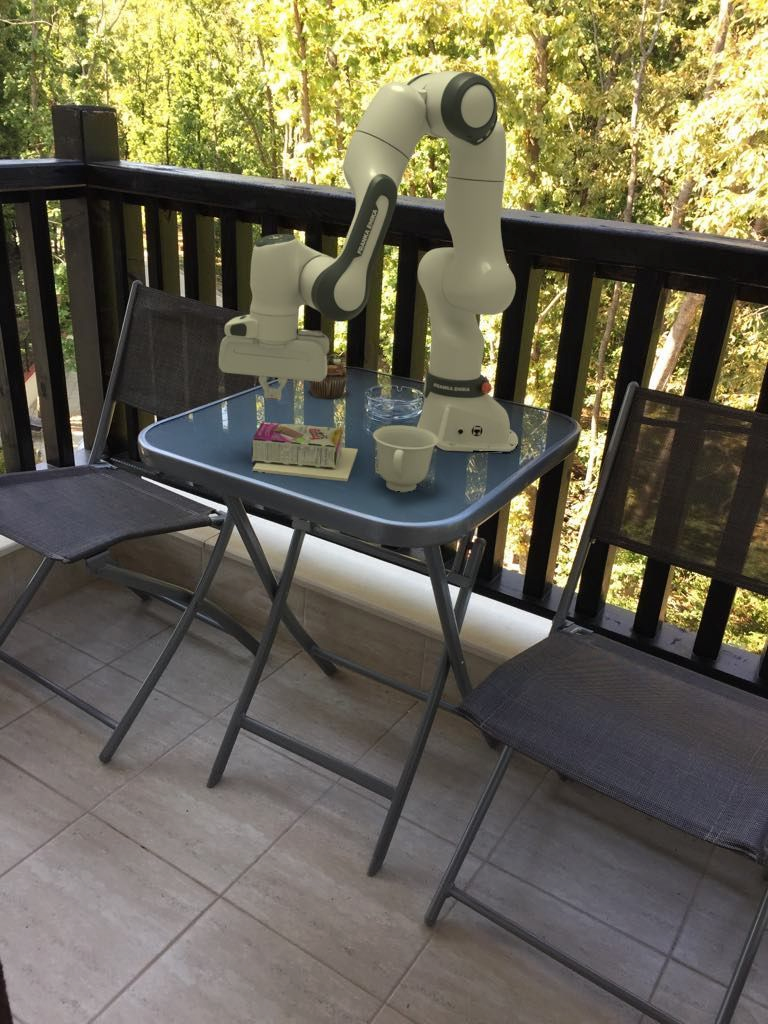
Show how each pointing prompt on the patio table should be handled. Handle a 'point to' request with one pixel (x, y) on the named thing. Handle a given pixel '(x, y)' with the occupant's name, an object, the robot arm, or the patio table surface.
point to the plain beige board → (314, 468)
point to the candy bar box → (297, 445)
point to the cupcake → (331, 380)
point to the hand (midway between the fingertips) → (272, 398)
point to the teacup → (404, 455)
